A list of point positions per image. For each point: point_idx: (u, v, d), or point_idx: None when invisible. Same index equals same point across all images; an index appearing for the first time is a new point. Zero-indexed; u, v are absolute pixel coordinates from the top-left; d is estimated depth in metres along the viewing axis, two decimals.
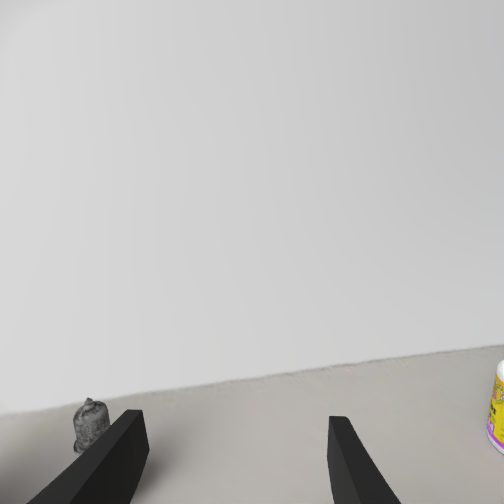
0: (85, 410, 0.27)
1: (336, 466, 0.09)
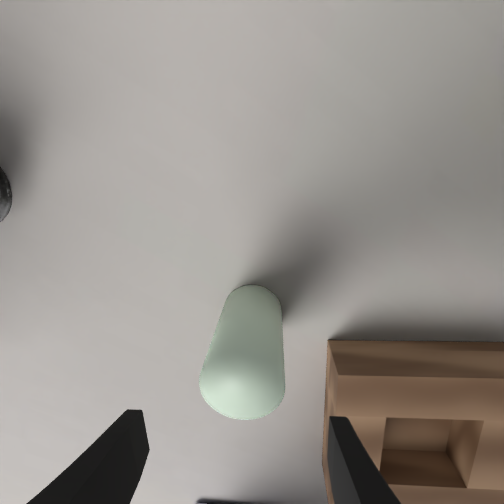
0: None
1: (336, 466, 0.09)
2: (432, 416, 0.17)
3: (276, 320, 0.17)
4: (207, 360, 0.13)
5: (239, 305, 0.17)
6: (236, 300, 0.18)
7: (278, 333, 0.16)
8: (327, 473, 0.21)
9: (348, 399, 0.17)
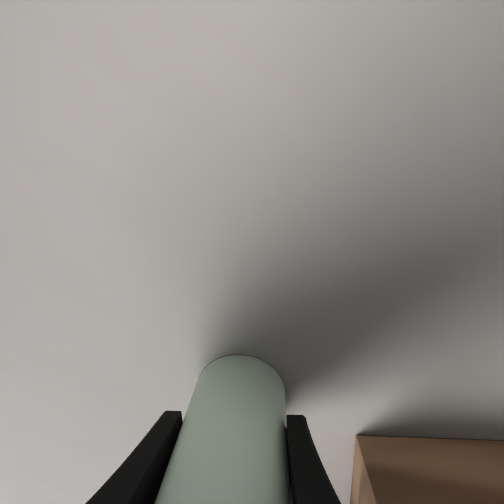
0: None
1: None
2: None
3: (277, 436, 0.10)
4: None
5: (214, 409, 0.10)
6: (211, 392, 0.11)
7: (281, 474, 0.09)
8: None
9: None
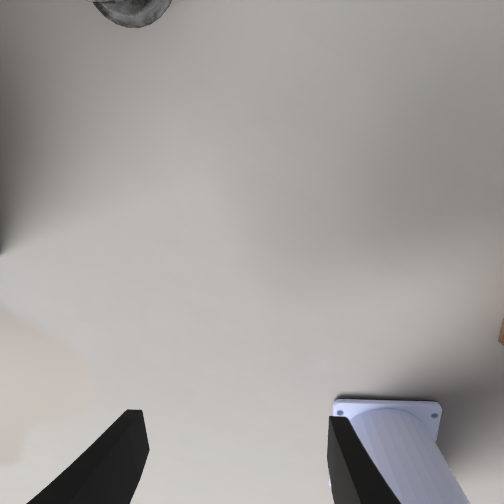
0: None
1: (336, 466, 0.09)
2: None
3: None
4: None
5: None
6: None
7: None
8: None
9: None
